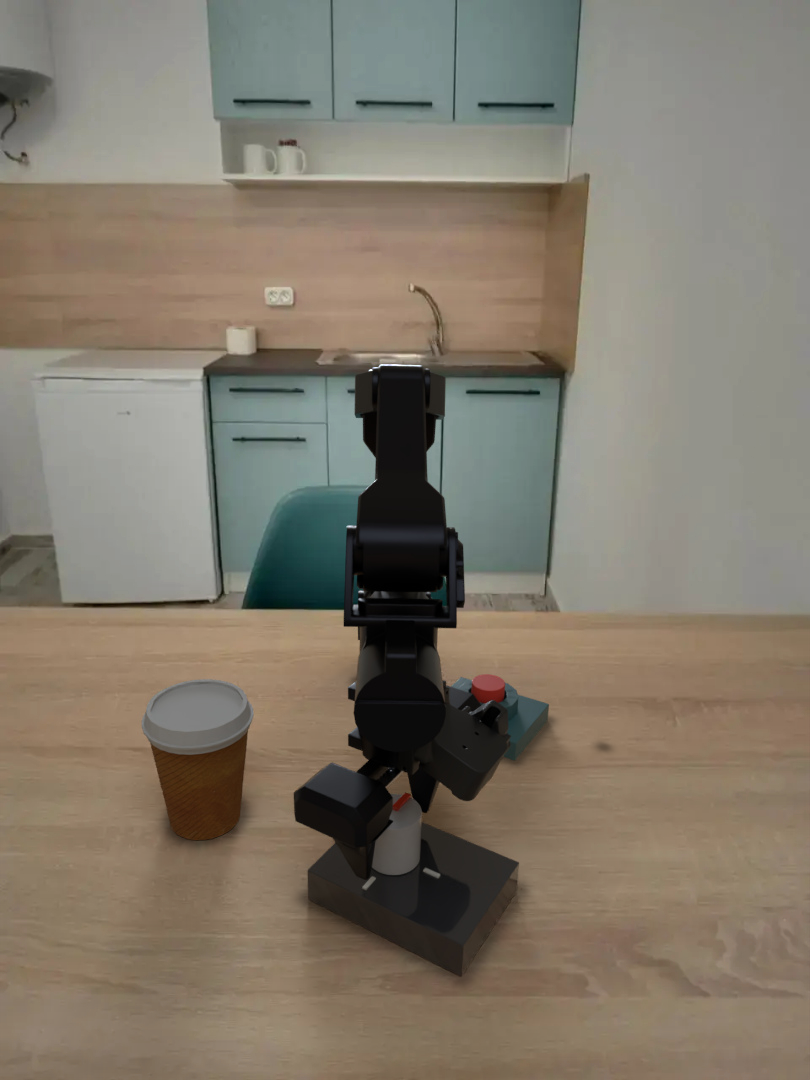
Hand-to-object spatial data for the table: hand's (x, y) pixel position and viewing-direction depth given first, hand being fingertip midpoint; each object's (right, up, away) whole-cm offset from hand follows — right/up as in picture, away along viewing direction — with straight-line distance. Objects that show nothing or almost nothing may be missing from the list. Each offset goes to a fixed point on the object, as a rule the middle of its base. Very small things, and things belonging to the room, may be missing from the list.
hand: (394, 842), depth 67 cm
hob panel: (+2, -5, +1) cm, 5 cm away
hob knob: (0, -1, +1) cm, 1 cm away
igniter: (+10, +4, +25) cm, 27 cm away
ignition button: (+10, +7, +23) cm, 26 cm away
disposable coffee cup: (-17, -1, +9) cm, 20 cm away
